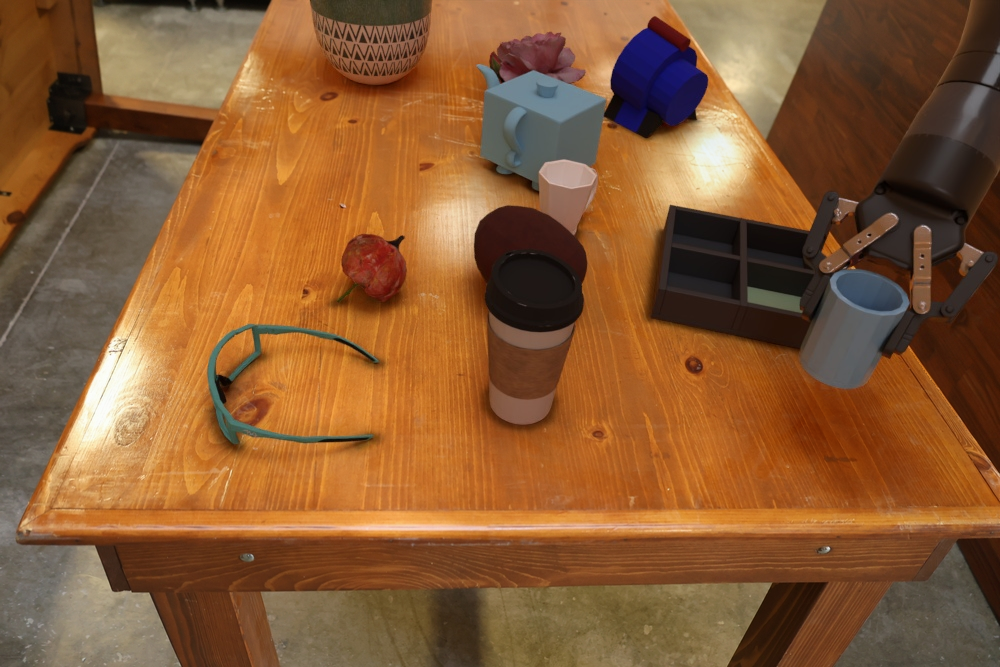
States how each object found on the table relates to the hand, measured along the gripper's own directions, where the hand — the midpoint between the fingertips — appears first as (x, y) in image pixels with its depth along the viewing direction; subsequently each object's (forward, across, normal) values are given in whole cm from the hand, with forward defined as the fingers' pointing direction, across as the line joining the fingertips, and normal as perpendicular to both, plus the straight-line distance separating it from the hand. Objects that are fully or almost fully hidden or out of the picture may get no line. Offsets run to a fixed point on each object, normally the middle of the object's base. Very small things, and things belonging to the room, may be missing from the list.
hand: (845, 336), depth 62 cm
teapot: (-8, -51, +27) cm, 58 cm away
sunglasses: (+28, -38, -9) cm, 48 cm away
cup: (-2, -37, +21) cm, 42 cm away
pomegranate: (+17, -44, +2) cm, 47 cm away
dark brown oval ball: (+9, -32, +10) cm, 35 cm away
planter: (-12, -85, +31) cm, 91 cm away
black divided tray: (-4, -15, +24) cm, 28 cm away
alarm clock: (-27, -45, +47) cm, 70 cm away
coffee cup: (+19, -22, +1) cm, 29 cm away
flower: (-23, -64, +42) cm, 79 cm away
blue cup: (+2, 0, +4) cm, 5 cm away
